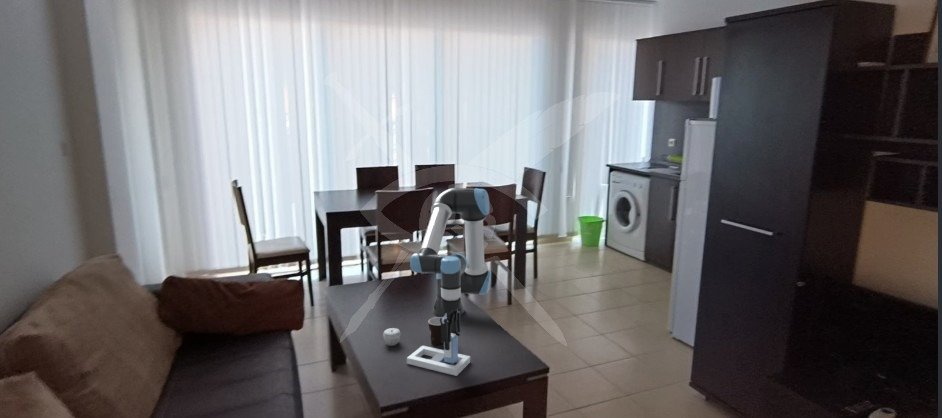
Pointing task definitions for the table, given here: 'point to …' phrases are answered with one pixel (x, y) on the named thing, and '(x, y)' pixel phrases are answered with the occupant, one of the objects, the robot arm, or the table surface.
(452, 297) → the robot arm
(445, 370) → the panel
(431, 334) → the coffee mug
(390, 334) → the apple
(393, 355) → the table surface
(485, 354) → the table surface
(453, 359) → the plug
